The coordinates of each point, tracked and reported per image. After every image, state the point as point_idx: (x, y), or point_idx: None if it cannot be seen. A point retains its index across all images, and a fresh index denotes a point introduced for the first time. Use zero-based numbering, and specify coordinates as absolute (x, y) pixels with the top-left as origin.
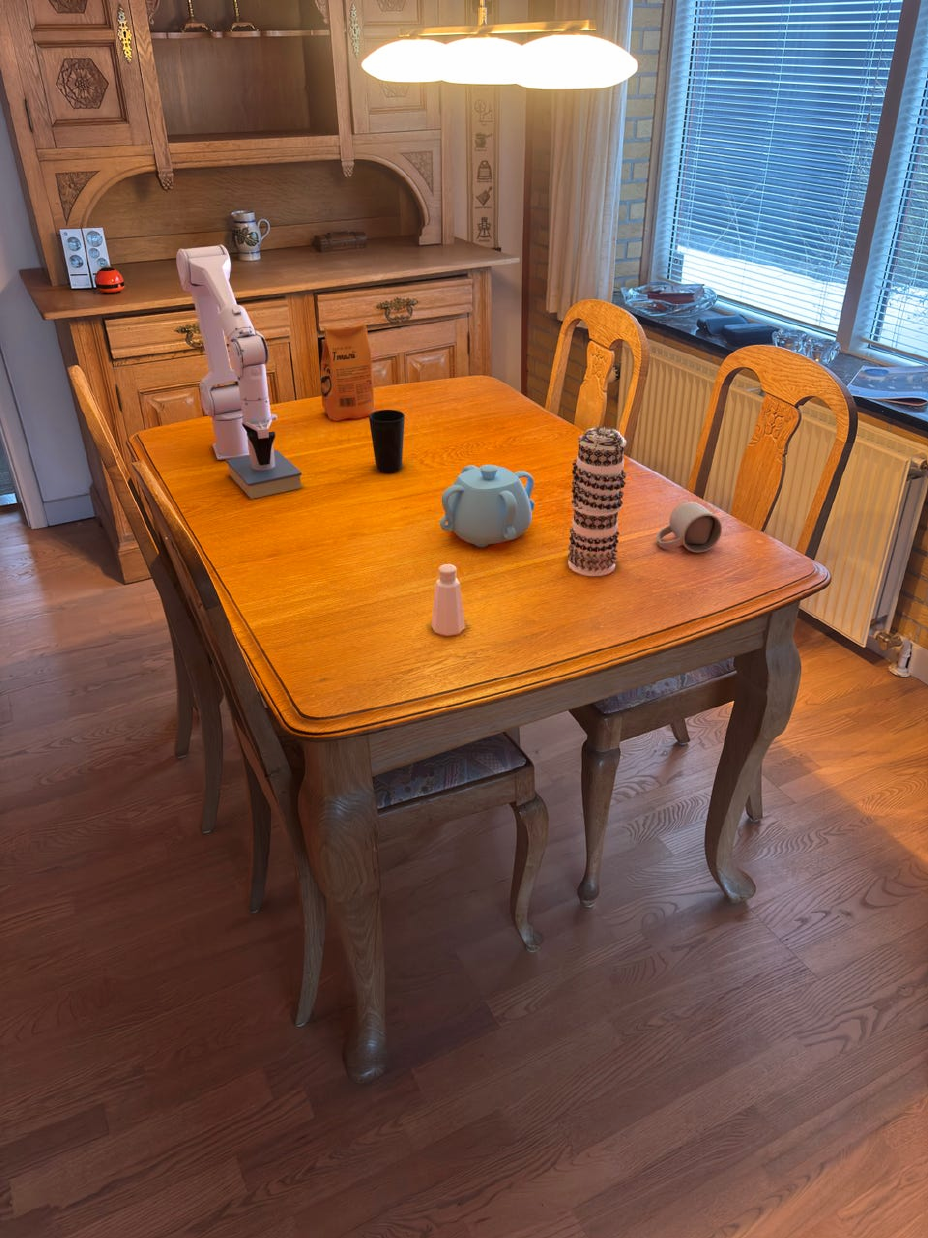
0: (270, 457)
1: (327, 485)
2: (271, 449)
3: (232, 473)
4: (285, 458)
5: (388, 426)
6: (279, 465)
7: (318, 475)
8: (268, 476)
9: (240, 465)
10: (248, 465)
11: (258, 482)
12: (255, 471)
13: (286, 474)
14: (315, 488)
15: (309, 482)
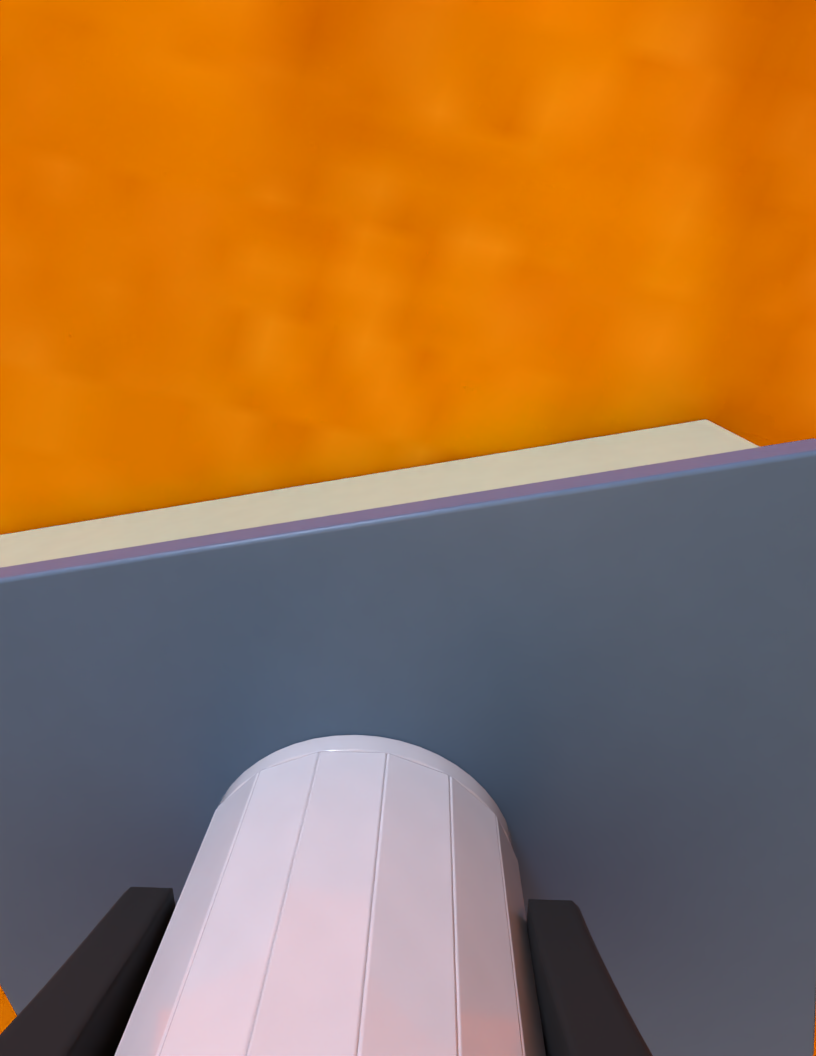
0: (617, 990)
1: (794, 50)
2: (482, 1050)
3: None
4: (171, 565)
5: None
6: (419, 689)
7: (400, 106)
8: (730, 864)
9: None
10: None
11: (813, 962)
12: None
13: (787, 664)
14: (802, 247)
15: (582, 284)
